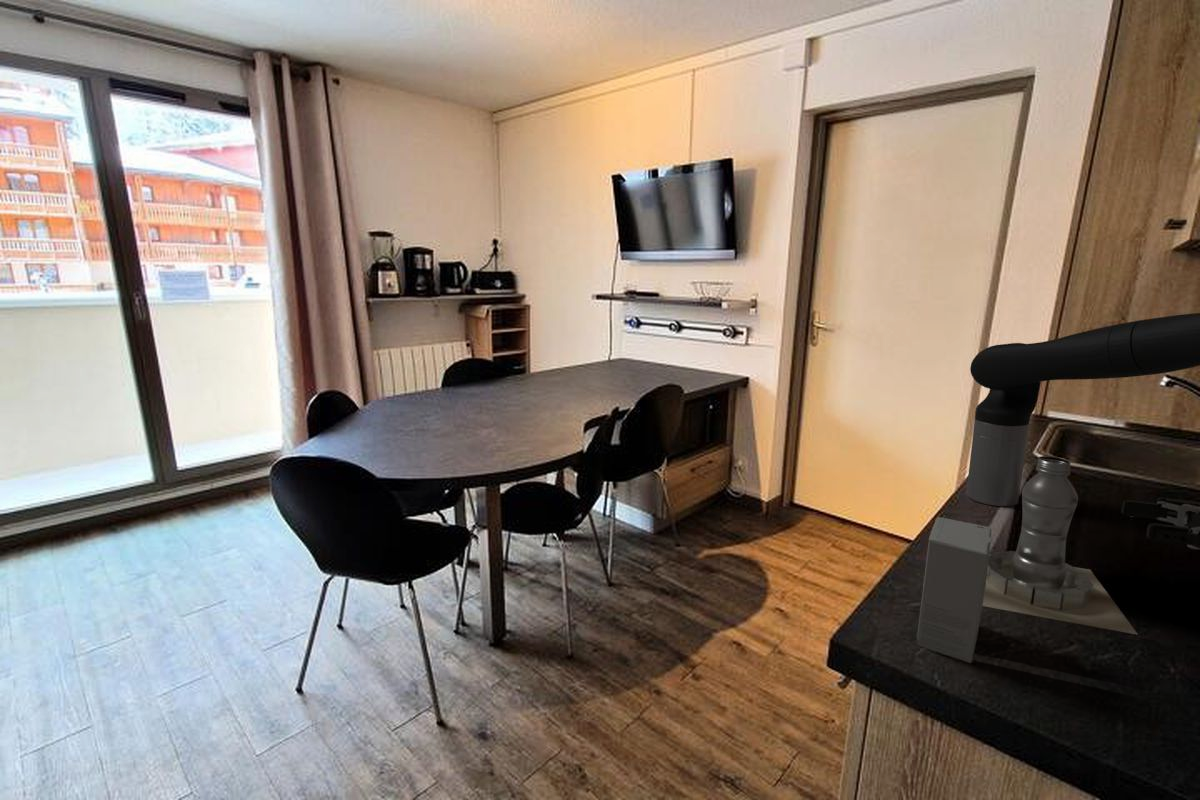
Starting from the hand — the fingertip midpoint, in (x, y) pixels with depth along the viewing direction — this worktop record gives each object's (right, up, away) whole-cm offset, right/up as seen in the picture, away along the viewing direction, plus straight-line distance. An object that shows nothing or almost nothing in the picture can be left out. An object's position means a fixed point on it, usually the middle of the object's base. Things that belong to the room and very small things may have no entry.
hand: (1134, 518), depth 77 cm
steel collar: (-8, -12, +7) cm, 16 cm away
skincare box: (-28, -16, -3) cm, 32 cm away
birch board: (-8, -13, +7) cm, 17 cm away
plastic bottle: (-8, -12, +7) cm, 16 cm away
